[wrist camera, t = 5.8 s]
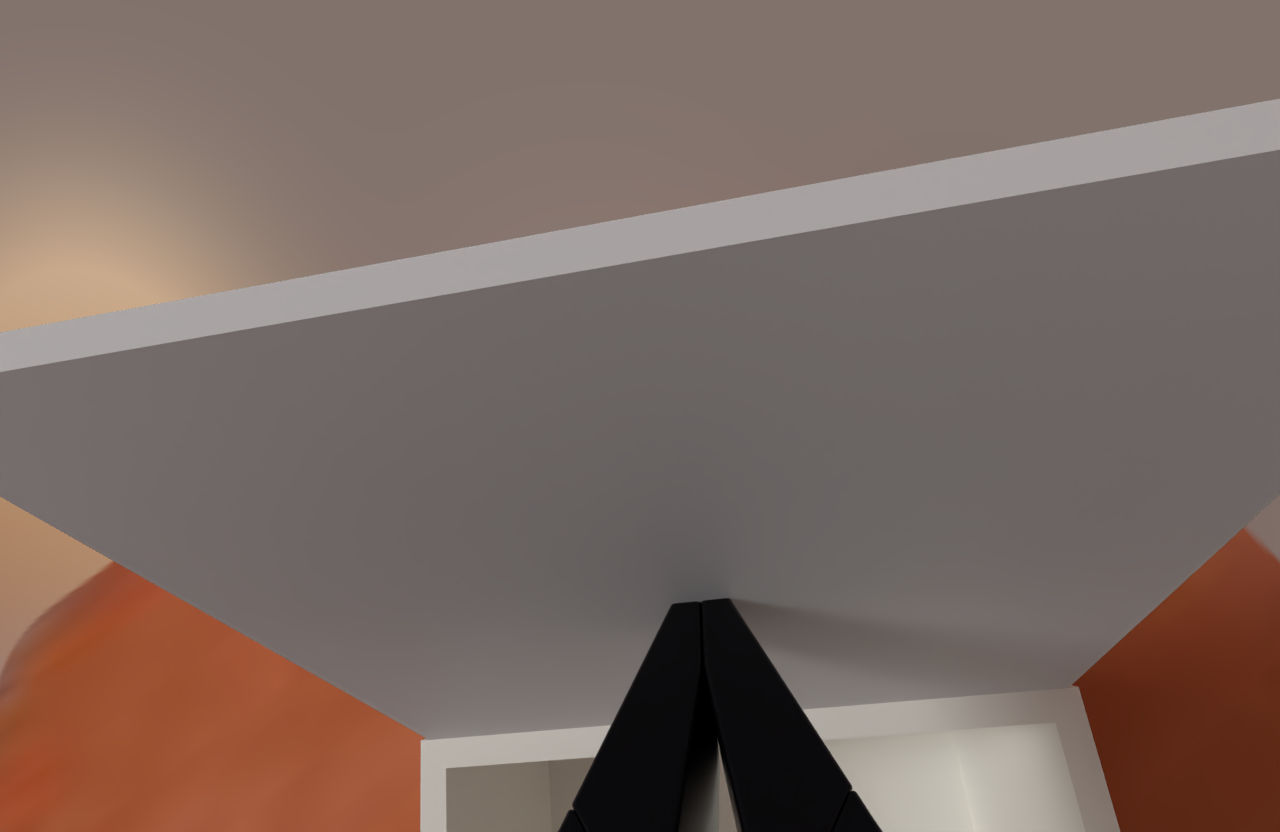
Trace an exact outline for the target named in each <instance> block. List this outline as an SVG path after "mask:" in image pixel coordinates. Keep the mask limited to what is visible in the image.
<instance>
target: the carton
mask: <svg viewBox="0 0 1280 832" xmlns="http://www.w3.org/2000/svg"><path fill="white" fill-rule="evenodd" d="M803 711H804V713H805V714H806V716H807V717H808V719H809V720H810V722H811V723H812V725H813V726H814V728H815V730H816V731H817V733H818V734H819V736H820V737H821V739H822V740H823V742H824V743H825V745H826V746H827V748H828V750H829V751H830V753H831V754H832V756H833V757H834V759H835V760H836V762H837V763H838V765H839V766H840V768H841V770H842V771H843V773H844V774H845V776H846V777H847V779H848V780H849V782H850V783H851V785H852V790H853V791H855V792H857V794H858V795H859V797H860V798H861V800H862V801H863V803H864V804H865V806H866V807H867V809H868V810H869V812H870V813H871V815H872V817H873V818H874V820H875V821H876V823H877V824H878V825H879V827H880V828H881V830H882V831H883V832H1120V829H1119V825H1118V822H1117V818H1116V815H1115V811H1114V808H1113V804H1112V801H1111V797H1110V794H1109V791H1108V787H1107V784H1106V780H1105V777H1104V773H1103V770H1102V766H1101V763H1100V759H1099V756H1098V752H1097V749H1096V745H1095V742H1094V739H1093V735H1092V732H1091V728H1090V725H1089V721H1088V718H1087V714H1086V711H1085V707H1084V704H1083V700H1082V697H1081V693H1080V690H1079V687H1077V686H1073V685H1071V686H1070V687H1069V688H1062V689H1050V690H1037V691H1025V692H1013V693H1000V694H988V695H976V696H964V697H951V698H939V699H927V700H915V701H902V702H890V703H878V704H865V705H853V706H841V707H829V708H816V709H804V710H803ZM610 726H611V725H608V726H595V727H583V728H571V729H559V730H546V731H534V732H522V733H510V734H497V735H485V736H473V737H460V738H448V739H436V740H429V739H427V738H426V739H423V740H421V829H420V832H558V830H559V828H560V826H561V824H562V822H563V820H564V818H565V816H566V814H567V812H568V811H569V810H570V809H572V810H573V808H572V803H573V801H574V799H575V797H576V795H577V793H578V791H579V789H580V787H581V785H582V783H583V781H584V779H585V777H586V775H587V773H588V771H589V769H590V767H591V765H592V763H593V761H594V759H595V757H596V755H597V753H598V750H599V748H600V746H601V744H602V742H603V740H604V738H605V736H606V734H607V732H608V730H609V728H610ZM719 762H720V785H719V832H737V829H736V825H735V820H734V816H733V811H732V806H731V802H730V797H729V793H728V788H727V784H726V779H725V774H724V769H723V764H722V759H721V754H720V749H719Z"/></svg>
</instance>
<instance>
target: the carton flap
mask: <svg viewBox="0 0 1280 832" xmlns="http://www.w3.org/2000/svg"><path fill="white" fill-rule="evenodd" d="M1279 494H1280V99H1276V100H1270V101H1265V102H1260V103H1254V104H1249V105H1243V106H1238V107H1232V108H1227V109H1221V110H1216V111H1211V112H1205V113H1199V114H1194V115H1189V116H1183V117H1178V118H1172V119H1167V120H1161V121H1156V122H1150V123H1145V124H1139V125H1134V126H1128V127H1123V128H1117V129H1112V130H1106V131H1101V132H1095V133H1090V134H1084V135H1079V136H1073V137H1068V138H1062V139H1057V140H1052V141H1046V142H1041V143H1035V144H1030V145H1025V146H1019V147H1014V148H1008V149H1002V150H997V151H992V152H986V153H981V154H975V155H969V156H964V157H959V158H953V159H948V160H943V161H937V162H931V163H926V164H920V165H915V166H910V167H904V168H898V169H893V170H887V171H882V172H877V173H872V174H866V175H860V176H855V177H849V178H844V179H838V180H833V181H827V182H822V183H817V184H811V185H805V186H800V187H794V188H789V189H784V190H778V191H773V192H767V193H762V194H757V195H751V196H745V197H740V198H735V199H729V200H723V201H718V202H712V203H707V204H701V205H697V206H691V207H685V208H679V209H674V210H668V211H663V212H658V213H652V214H647V215H641V216H636V217H630V218H625V219H620V220H614V221H608V222H603V223H598V224H592V225H587V226H581V227H575V228H570V229H565V230H559V231H554V232H548V233H543V234H538V235H532V236H527V237H521V238H516V239H510V240H504V241H499V242H493V243H489V244H483V245H477V246H471V247H466V248H461V249H455V250H450V251H444V252H439V253H433V254H428V255H422V256H417V257H412V258H406V259H400V260H395V261H390V262H384V263H378V264H373V265H368V266H362V267H357V268H351V269H346V270H340V271H335V272H329V273H324V274H318V275H313V276H307V277H302V278H296V279H292V280H285V281H280V282H274V283H269V284H264V285H258V286H253V287H248V288H242V289H236V290H231V291H226V292H220V293H215V294H209V295H203V296H198V297H192V298H187V299H182V300H176V301H171V302H165V303H160V304H154V305H149V306H144V307H138V308H133V309H127V310H121V311H116V312H110V313H106V314H99V315H94V316H89V317H83V318H77V319H72V320H67V321H61V322H56V323H50V324H45V325H40V326H34V327H28V328H23V329H17V330H12V331H7V332H1V333H0V497H2V498H4V499H5V500H7V501H9V502H11V503H12V504H15V505H16V506H18V507H20V508H21V509H23V510H25V511H27V512H29V513H30V514H32V515H34V516H35V517H37V518H39V519H41V520H42V521H44V522H46V523H48V524H50V525H51V526H53V527H55V528H57V529H59V530H60V531H62V532H64V533H66V534H67V535H69V536H71V537H73V538H74V539H76V540H78V541H79V542H81V543H83V544H85V545H87V546H88V547H90V548H92V549H94V550H95V551H97V552H99V553H101V554H103V555H104V556H106V557H108V558H109V559H111V560H113V561H115V562H116V563H118V564H120V565H122V566H124V567H125V568H127V569H129V570H131V571H132V572H134V573H136V574H138V575H139V576H141V577H143V578H145V579H146V580H148V581H150V582H152V583H154V584H155V585H157V586H159V587H161V588H162V589H164V590H166V591H168V592H169V593H171V594H173V595H175V596H176V597H178V598H180V599H182V600H183V601H185V602H187V603H189V604H191V605H192V606H194V607H196V608H198V609H199V610H201V611H203V612H205V613H206V614H208V615H210V616H212V617H213V618H215V619H217V620H219V621H220V622H222V623H224V624H226V625H228V626H229V627H231V628H233V629H235V630H236V631H238V632H240V633H242V634H243V635H245V636H247V637H249V638H250V639H252V640H254V641H256V642H258V643H259V644H261V645H263V646H265V647H266V648H268V649H270V650H272V651H273V652H275V653H277V654H279V655H280V656H282V657H284V658H286V659H287V660H289V661H291V662H293V663H295V664H296V665H298V666H300V667H302V668H303V669H305V670H307V671H309V672H310V673H312V674H314V675H316V676H317V677H319V678H321V679H323V680H325V681H326V682H328V683H330V684H332V685H333V686H335V687H337V688H339V689H340V690H342V691H344V692H346V693H347V694H349V695H351V696H353V697H354V698H356V699H358V700H360V701H362V702H363V703H365V704H367V705H369V706H370V707H372V708H374V709H376V710H377V711H379V712H381V713H383V714H384V715H386V716H388V717H390V718H391V719H393V720H395V721H397V722H399V723H400V724H402V725H404V726H406V727H407V728H409V729H411V730H413V731H414V732H416V733H418V734H420V735H421V736H423V737H425V738H427V739H429V740H436V739H448V738H460V737H473V736H485V735H497V734H510V733H522V732H534V731H546V730H559V729H571V728H583V727H595V726H608V725H611V724H612V722H613V720H614V718H615V716H616V714H617V712H618V710H619V708H620V706H621V704H622V702H623V700H624V698H625V696H626V694H627V692H628V690H629V688H630V686H631V684H632V682H633V680H634V678H635V676H636V674H637V672H638V670H639V668H640V666H641V664H642V662H643V660H644V658H645V656H646V654H647V652H648V650H649V648H650V646H651V644H652V642H653V640H654V638H655V636H656V634H657V632H658V630H659V628H660V626H661V624H662V622H663V620H664V618H665V616H666V614H667V612H668V610H669V608H670V606H671V604H674V603H683V602H693V601H697V602H700V604H701V602H702V601H704V600H712V599H722V598H730V599H731V600H732V602H733V604H734V605H735V607H736V608H737V610H738V611H739V613H740V614H741V616H742V617H743V619H744V620H745V622H746V624H747V625H748V627H749V628H750V630H751V631H752V633H753V634H754V636H755V637H756V639H757V640H758V642H759V643H760V645H761V647H762V648H763V650H764V651H765V653H766V654H767V656H768V657H769V659H770V660H771V662H772V663H773V665H774V667H775V668H776V670H777V671H778V673H779V674H780V676H781V677H782V679H783V680H784V682H785V683H786V685H787V687H788V688H789V690H790V691H791V693H792V694H793V696H794V697H795V699H796V700H797V702H798V703H799V705H800V707H801V708H802V710H804V709H816V708H829V707H841V706H853V705H865V704H878V703H890V702H902V701H915V700H927V699H939V698H951V697H964V696H976V695H988V694H1000V693H1013V692H1025V691H1037V690H1050V689H1062V688H1069V687H1070V686H1071V685H1072V684H1073V683H1074V682H1075V681H1076V680H1078V679H1079V678H1080V677H1081V676H1082V675H1083V674H1084V673H1085V672H1086V671H1087V670H1088V669H1090V668H1091V667H1092V666H1093V665H1094V664H1095V663H1096V662H1097V661H1098V660H1099V659H1100V658H1102V657H1103V656H1104V655H1105V654H1106V653H1107V652H1108V651H1109V650H1110V649H1111V648H1112V647H1114V646H1115V645H1116V644H1117V643H1118V642H1119V641H1120V640H1121V639H1122V638H1123V637H1124V636H1126V635H1127V634H1128V633H1129V632H1130V631H1131V630H1132V629H1133V628H1134V627H1135V626H1136V625H1138V624H1139V623H1140V622H1141V621H1142V620H1143V619H1144V618H1145V617H1146V616H1147V615H1148V614H1150V613H1151V612H1152V611H1153V610H1154V609H1155V608H1156V607H1157V606H1158V605H1159V604H1160V603H1162V602H1163V601H1164V600H1165V599H1166V598H1167V597H1168V596H1169V595H1170V594H1171V593H1172V592H1174V591H1175V590H1176V589H1177V588H1178V587H1179V586H1180V585H1181V584H1182V583H1183V582H1184V581H1186V580H1187V579H1188V578H1189V577H1190V576H1191V575H1192V574H1193V573H1194V572H1195V571H1196V570H1198V569H1199V568H1200V567H1201V566H1202V565H1203V564H1204V563H1205V562H1206V561H1207V560H1209V559H1210V558H1211V557H1212V556H1213V555H1214V554H1215V553H1216V552H1217V551H1218V550H1219V549H1221V548H1222V547H1223V546H1224V545H1225V544H1226V543H1227V542H1228V541H1229V540H1230V539H1231V538H1233V537H1234V536H1235V535H1236V534H1237V533H1238V532H1239V531H1240V530H1241V529H1242V528H1243V527H1245V526H1246V525H1247V524H1248V523H1249V522H1250V521H1251V520H1252V519H1253V518H1254V517H1255V516H1257V515H1258V514H1259V513H1260V512H1261V511H1262V510H1263V509H1264V508H1265V507H1266V506H1267V505H1268V504H1270V503H1271V502H1272V501H1273V500H1274V499H1275V498H1276V497H1277V496H1278V495H1279Z"/></svg>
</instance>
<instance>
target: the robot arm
mask: <svg viewBox="0 0 1280 832" xmlns="http://www.w3.org/2000/svg"><path fill="white" fill-rule="evenodd" d="M719 749H720V754H721V759H722V764H723V769H724V774H725V779H726V784H727V788H728V793H729V797H730V802H731V806H732V811H733V816H734V820H735V825H736V829H737V832H883V831H882V830H881V828H880V827H879V825H878V824H877V823H876V821H875V820H874V818H873V817H872V815H871V813H870V812H869V810H868V809H867V807H866V806H865V804H864V803H863V801H862V800H861V798H860V797H859V795H858V794H857V792H855V791H853V790H852V785H851V783H850V782H849V780H848V779H847V777H846V776H845V774H844V773H843V771H842V770H841V768H840V766H839V765H838V763H837V762H836V760H835V759H834V757H833V756H832V754H831V753H830V751H829V750H828V748H827V746H826V745H825V743H824V742H823V740H822V739H821V737H820V736H819V734H818V733H817V731H816V730H815V728H814V726H813V725H812V723H811V722H810V720H809V719H808V717H807V716H806V714H805V713H804V711H803V710H802V708H801V707H800V705H799V703H798V702H797V700H796V699H795V697H794V696H793V694H792V693H791V691H790V690H789V688H788V687H787V685H786V683H785V682H784V680H783V679H782V677H781V676H780V674H779V673H778V671H777V670H776V668H775V667H774V665H773V663H772V662H771V660H770V659H769V657H768V656H767V654H766V653H765V651H764V650H763V648H762V647H761V645H760V643H759V642H758V640H757V639H756V637H755V636H754V634H753V633H752V631H751V630H750V628H749V627H748V625H747V624H746V622H745V620H744V619H743V617H742V616H741V614H740V613H739V611H738V610H737V608H736V607H735V605H734V604H733V602H732V600H731V599H730V598H722V599H712V600H704V601H702V602H701V604H700V602H697V601H693V602H683V603H674V604H671V606H670V608H669V610H668V612H667V614H666V616H665V618H664V620H663V622H662V624H661V626H660V628H659V630H658V632H657V634H656V636H655V638H654V640H653V642H652V644H651V646H650V648H649V650H648V652H647V654H646V656H645V658H644V660H643V662H642V664H641V666H640V668H639V670H638V672H637V674H636V676H635V678H634V680H633V682H632V684H631V686H630V688H629V690H628V692H627V694H626V696H625V698H624V700H623V702H622V704H621V706H620V708H619V710H618V712H617V714H616V716H615V718H614V720H613V722H612V724H611V726H610V728H609V730H608V732H607V734H606V736H605V738H604V740H603V742H602V744H601V746H600V748H599V750H598V753H597V755H596V757H595V759H594V761H593V763H592V765H591V767H590V769H589V771H588V773H587V775H586V777H585V779H584V781H583V783H582V785H581V787H580V789H579V791H578V793H577V795H576V797H575V799H574V801H573V803H572V808H573V810H572V809H570V810H569V811H568V812H567V814H566V816H565V818H564V820H563V822H562V824H561V826H560V828H559V830H558V832H719V785H720V762H719Z"/></svg>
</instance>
